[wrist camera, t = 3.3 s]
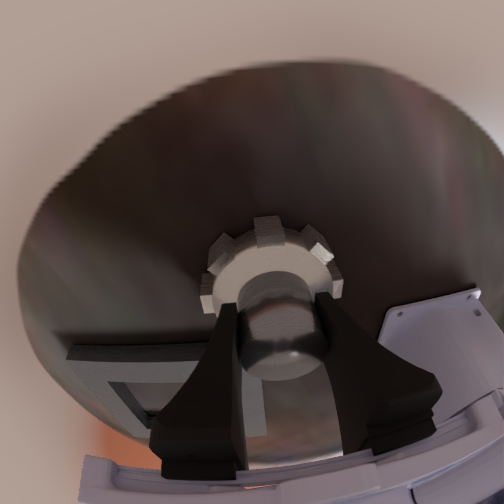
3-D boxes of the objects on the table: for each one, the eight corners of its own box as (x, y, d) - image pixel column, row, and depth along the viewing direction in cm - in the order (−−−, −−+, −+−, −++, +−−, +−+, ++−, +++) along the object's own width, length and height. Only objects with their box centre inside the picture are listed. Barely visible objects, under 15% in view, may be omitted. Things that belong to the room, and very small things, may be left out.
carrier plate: (256, 337, 19) (258, 355, 17) (265, 422, 26) (266, 435, 25) (71, 344, 18) (65, 359, 17) (135, 425, 26) (134, 436, 25)
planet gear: (336, 210, 14) (384, 278, 10) (327, 313, 18) (352, 385, 13) (192, 224, 14) (176, 302, 9) (214, 326, 18) (213, 404, 13)
